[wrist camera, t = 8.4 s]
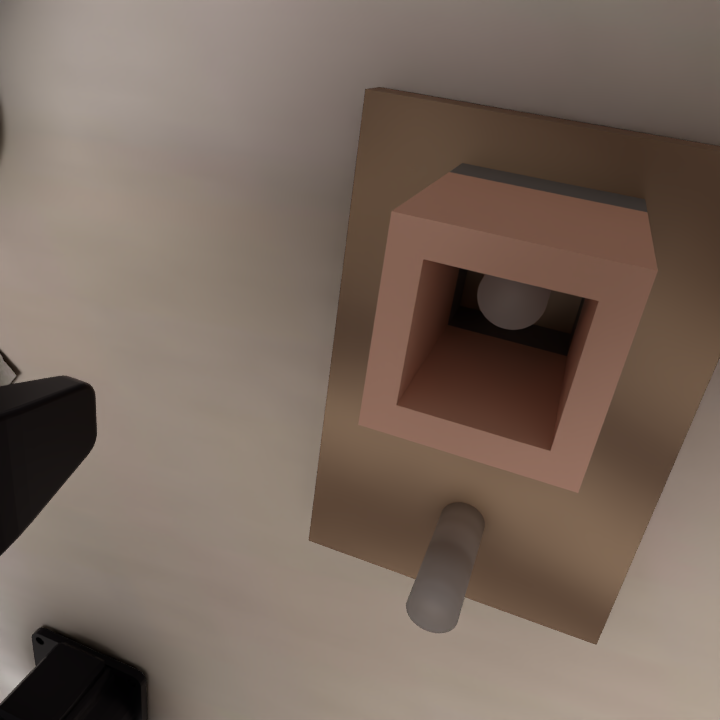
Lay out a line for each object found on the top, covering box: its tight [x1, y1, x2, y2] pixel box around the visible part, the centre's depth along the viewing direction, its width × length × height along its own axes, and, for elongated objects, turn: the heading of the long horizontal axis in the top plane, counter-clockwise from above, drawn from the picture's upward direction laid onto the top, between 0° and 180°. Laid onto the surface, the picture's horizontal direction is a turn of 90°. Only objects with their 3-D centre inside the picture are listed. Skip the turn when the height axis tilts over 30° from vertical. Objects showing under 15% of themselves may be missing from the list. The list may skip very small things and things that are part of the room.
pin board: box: [309, 87, 720, 644], centre depth 18 cm, size 15×10×5 cm, turn 172°
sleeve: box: [358, 163, 658, 493], centre depth 14 cm, size 4×4×6 cm
